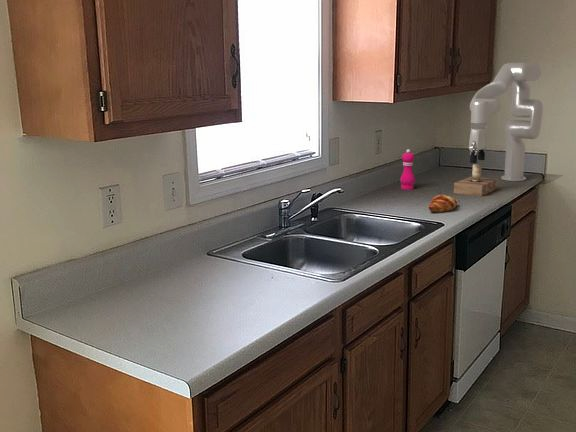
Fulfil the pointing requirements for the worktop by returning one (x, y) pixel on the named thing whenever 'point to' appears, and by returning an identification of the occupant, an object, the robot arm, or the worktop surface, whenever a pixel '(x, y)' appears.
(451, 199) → the croissant
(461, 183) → the board
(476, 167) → the peg
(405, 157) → the pepper mill
